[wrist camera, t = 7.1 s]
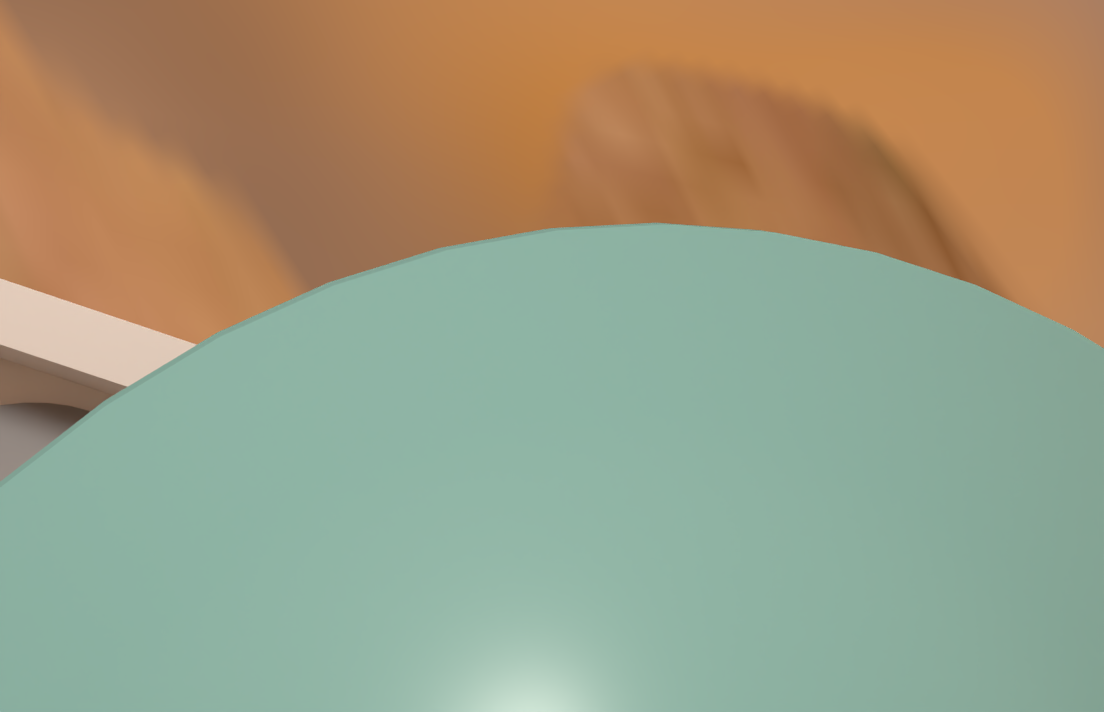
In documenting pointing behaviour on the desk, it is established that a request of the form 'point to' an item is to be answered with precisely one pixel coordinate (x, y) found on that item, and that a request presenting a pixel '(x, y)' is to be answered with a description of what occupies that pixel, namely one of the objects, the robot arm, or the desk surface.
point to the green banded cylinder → (580, 495)
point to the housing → (64, 366)
